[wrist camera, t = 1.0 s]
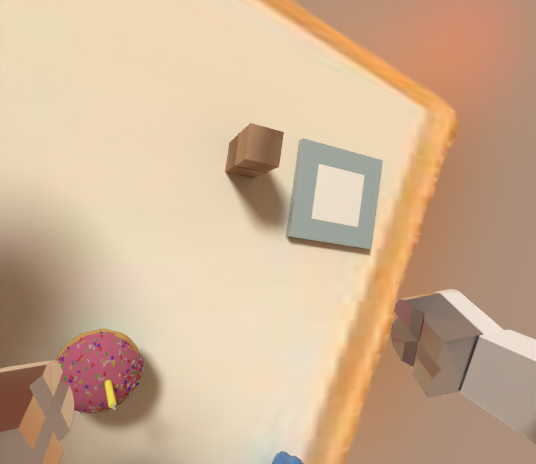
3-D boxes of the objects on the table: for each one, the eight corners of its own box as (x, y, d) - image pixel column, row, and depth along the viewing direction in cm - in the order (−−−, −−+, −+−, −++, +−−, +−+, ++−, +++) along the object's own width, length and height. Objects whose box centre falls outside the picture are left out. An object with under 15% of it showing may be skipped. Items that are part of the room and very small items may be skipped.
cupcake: (152, 331, 43) (158, 367, 31) (124, 399, 42) (121, 462, 30) (79, 311, 40) (57, 343, 29) (47, 384, 39) (12, 447, 27)
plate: (286, 236, 49) (289, 236, 48) (299, 140, 50) (303, 138, 49) (366, 248, 54) (371, 249, 53) (377, 161, 55) (382, 160, 54)
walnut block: (224, 171, 46) (244, 159, 37) (229, 142, 46) (250, 122, 38) (253, 178, 47) (279, 167, 39) (257, 149, 48) (284, 131, 39)
